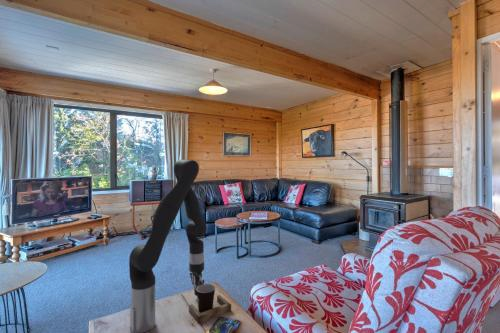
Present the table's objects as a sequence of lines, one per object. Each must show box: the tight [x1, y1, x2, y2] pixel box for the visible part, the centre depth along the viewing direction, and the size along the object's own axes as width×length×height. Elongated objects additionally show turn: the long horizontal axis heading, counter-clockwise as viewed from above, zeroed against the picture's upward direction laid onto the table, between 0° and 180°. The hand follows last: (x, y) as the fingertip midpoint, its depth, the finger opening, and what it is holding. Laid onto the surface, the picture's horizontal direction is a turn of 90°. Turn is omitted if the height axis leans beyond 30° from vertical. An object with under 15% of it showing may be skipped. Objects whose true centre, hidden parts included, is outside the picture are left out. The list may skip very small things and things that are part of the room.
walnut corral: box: [188, 294, 232, 324], centre depth 114 cm, size 16×11×3 cm
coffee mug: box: [196, 283, 216, 313], centre depth 117 cm, size 12×9×10 cm
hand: (197, 294), depth 126 cm, fingers closed
